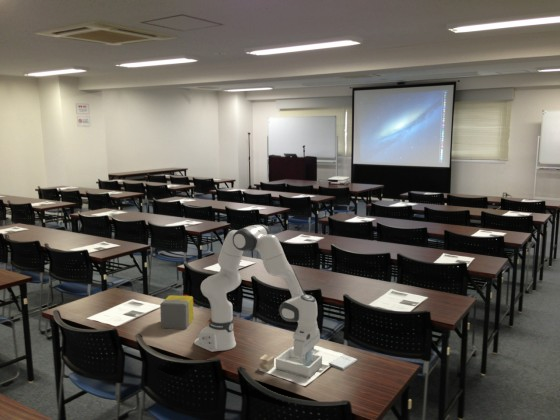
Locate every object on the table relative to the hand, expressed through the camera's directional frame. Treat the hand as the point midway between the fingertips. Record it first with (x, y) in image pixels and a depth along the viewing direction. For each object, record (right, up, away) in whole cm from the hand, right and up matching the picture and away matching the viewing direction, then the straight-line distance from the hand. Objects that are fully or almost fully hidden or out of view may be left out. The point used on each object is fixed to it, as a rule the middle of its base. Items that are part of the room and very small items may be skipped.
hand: (307, 358), depth 217 cm
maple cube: (-19, -5, +3) cm, 20 cm away
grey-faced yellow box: (-72, +3, +60) cm, 94 cm away
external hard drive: (+18, -5, +8) cm, 20 cm away
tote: (-4, -5, +3) cm, 7 cm away
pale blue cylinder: (0, -3, 0) cm, 3 cm away
